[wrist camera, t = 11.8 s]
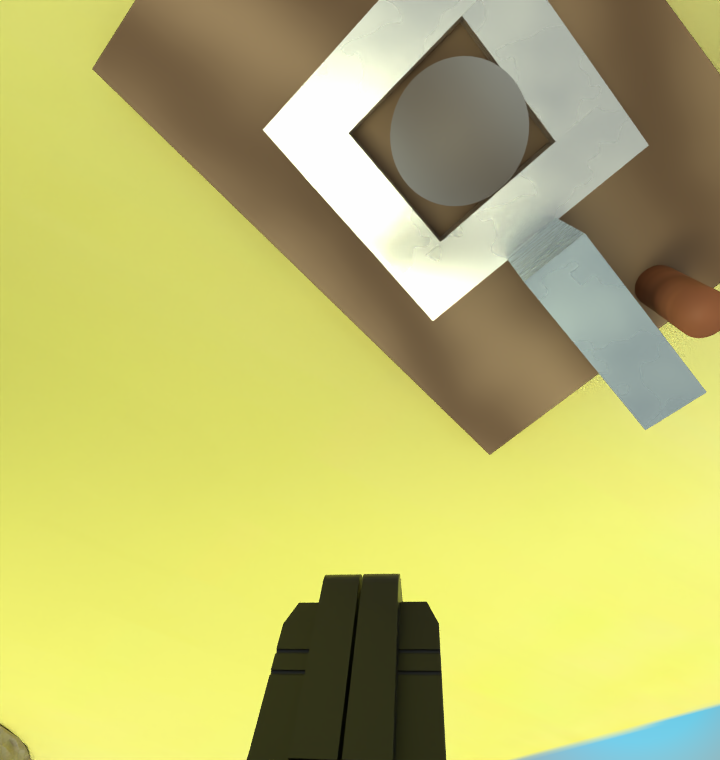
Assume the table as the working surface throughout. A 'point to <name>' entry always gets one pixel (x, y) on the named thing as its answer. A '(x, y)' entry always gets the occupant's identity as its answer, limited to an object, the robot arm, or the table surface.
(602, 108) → the flange plate
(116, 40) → the flange base
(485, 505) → the table surface
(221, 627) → the table surface
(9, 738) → the brown rock
